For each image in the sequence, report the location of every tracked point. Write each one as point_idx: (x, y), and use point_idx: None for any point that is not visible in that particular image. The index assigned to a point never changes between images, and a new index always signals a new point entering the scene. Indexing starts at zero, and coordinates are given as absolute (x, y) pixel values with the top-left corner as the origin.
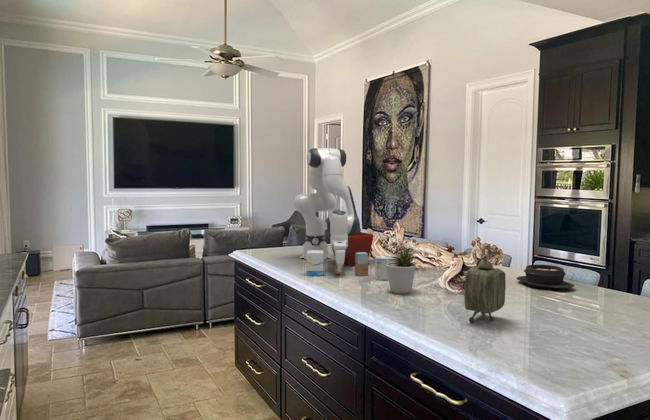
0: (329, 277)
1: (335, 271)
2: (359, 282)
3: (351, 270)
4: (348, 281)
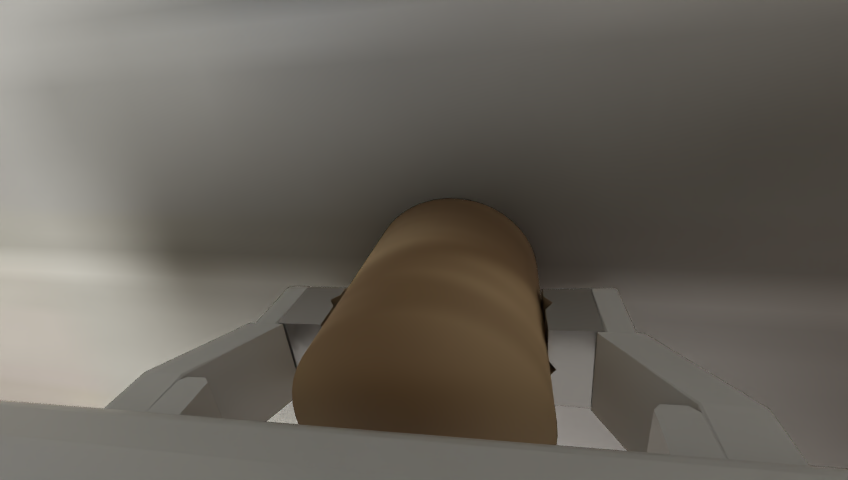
0: (118, 102)
1: (396, 229)
2: None
3: None
4: (15, 351)
